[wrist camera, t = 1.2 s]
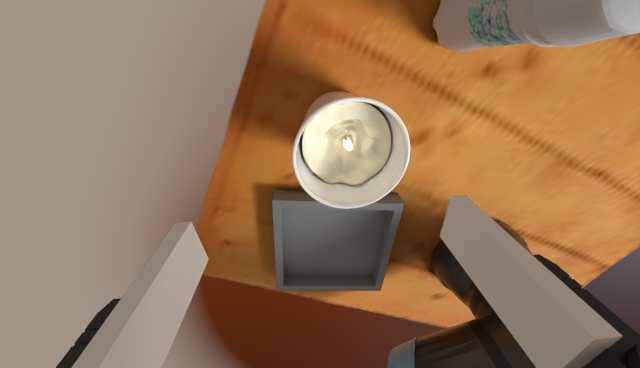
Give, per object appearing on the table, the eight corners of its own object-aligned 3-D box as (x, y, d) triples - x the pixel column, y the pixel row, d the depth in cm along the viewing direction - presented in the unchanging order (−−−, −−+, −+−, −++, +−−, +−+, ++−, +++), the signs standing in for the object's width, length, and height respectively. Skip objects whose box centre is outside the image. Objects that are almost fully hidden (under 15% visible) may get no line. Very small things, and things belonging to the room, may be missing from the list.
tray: (397, 192, 35) (404, 203, 32) (376, 276, 43) (380, 290, 40) (275, 189, 33) (272, 200, 31) (278, 276, 42) (276, 290, 39)
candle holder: (366, 162, 32) (395, 211, 21) (297, 158, 31) (291, 207, 21) (380, 87, 27) (425, 102, 17) (299, 80, 27) (293, 92, 16)
